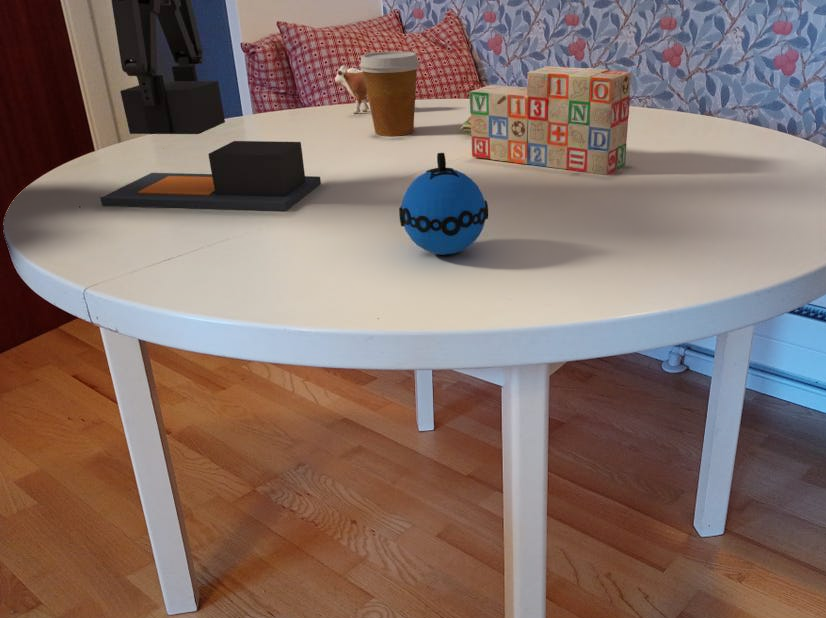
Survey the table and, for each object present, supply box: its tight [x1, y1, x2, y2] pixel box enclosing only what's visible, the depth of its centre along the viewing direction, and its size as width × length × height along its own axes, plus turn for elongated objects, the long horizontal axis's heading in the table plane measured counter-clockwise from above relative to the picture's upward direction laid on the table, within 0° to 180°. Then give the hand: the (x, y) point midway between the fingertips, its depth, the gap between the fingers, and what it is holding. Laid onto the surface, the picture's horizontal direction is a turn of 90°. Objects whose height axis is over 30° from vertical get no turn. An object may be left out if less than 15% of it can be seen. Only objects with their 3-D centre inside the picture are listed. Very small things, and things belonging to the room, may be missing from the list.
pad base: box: [99, 140, 322, 212], centre depth 103 cm, size 24×12×6 cm, turn 80°
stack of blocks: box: [469, 65, 632, 176], centre depth 112 cm, size 21×6×12 cm, turn 58°
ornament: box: [398, 152, 489, 256], centre depth 80 cm, size 9×9×10 cm
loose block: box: [119, 80, 226, 135], centre depth 100 cm, size 9×7×5 cm
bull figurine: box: [334, 65, 370, 115], centre depth 149 cm, size 4×13×8 cm, turn 84°
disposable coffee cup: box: [358, 50, 420, 137], centre depth 132 cm, size 10×10×12 cm
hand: (178, 125), depth 101 cm, fingers closed on loose block, 7 cm apart
